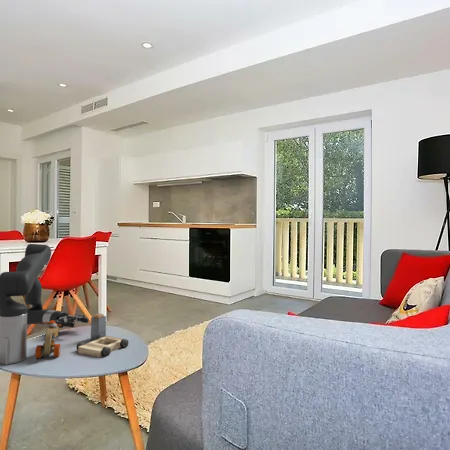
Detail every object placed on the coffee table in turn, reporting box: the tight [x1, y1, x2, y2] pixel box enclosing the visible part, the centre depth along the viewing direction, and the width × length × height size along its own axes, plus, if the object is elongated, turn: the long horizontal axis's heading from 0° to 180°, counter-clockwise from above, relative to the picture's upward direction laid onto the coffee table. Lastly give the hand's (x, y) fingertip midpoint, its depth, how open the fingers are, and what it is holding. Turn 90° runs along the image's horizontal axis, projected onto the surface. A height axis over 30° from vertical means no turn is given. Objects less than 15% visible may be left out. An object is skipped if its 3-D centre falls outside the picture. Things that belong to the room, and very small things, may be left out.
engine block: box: [90, 313, 107, 341], centre depth 160 cm, size 4×4×11 cm
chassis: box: [76, 335, 130, 358], centre depth 147 cm, size 16×15×3 cm
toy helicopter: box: [34, 320, 62, 359], centre depth 143 cm, size 8×21×14 cm, turn 17°
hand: (80, 322), depth 164 cm, fingers open, 8 cm apart
